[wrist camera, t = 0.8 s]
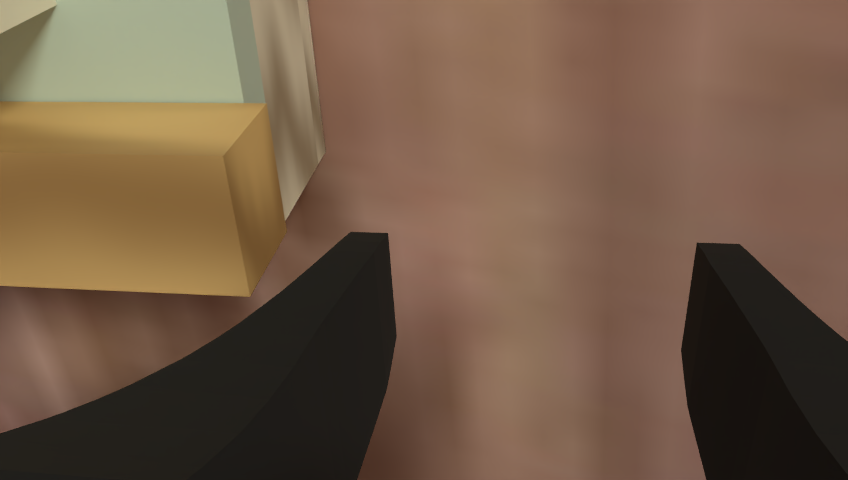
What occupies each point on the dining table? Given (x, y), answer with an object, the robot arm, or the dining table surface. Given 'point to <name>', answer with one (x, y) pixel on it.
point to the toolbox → (289, 92)
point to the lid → (129, 51)
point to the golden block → (138, 196)
